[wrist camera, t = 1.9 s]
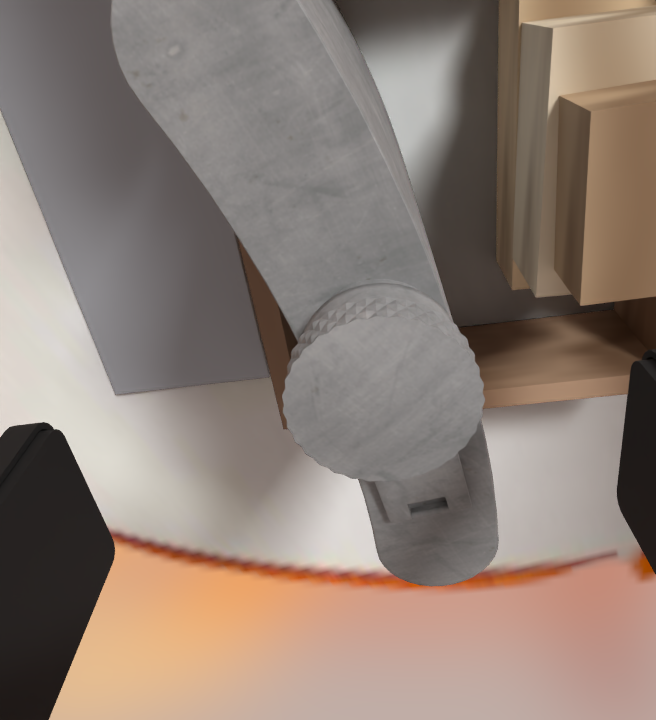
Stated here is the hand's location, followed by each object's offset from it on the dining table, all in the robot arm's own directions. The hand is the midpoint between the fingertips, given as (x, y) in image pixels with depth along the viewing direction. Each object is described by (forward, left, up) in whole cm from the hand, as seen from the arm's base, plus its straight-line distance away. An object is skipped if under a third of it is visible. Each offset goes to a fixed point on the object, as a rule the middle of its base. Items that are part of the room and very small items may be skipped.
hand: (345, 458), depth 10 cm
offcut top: (-9, 0, -13) cm, 16 cm away
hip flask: (0, 0, -21) cm, 21 cm away
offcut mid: (-9, 0, -17) cm, 20 cm away
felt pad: (+11, +1, -21) cm, 23 cm away
